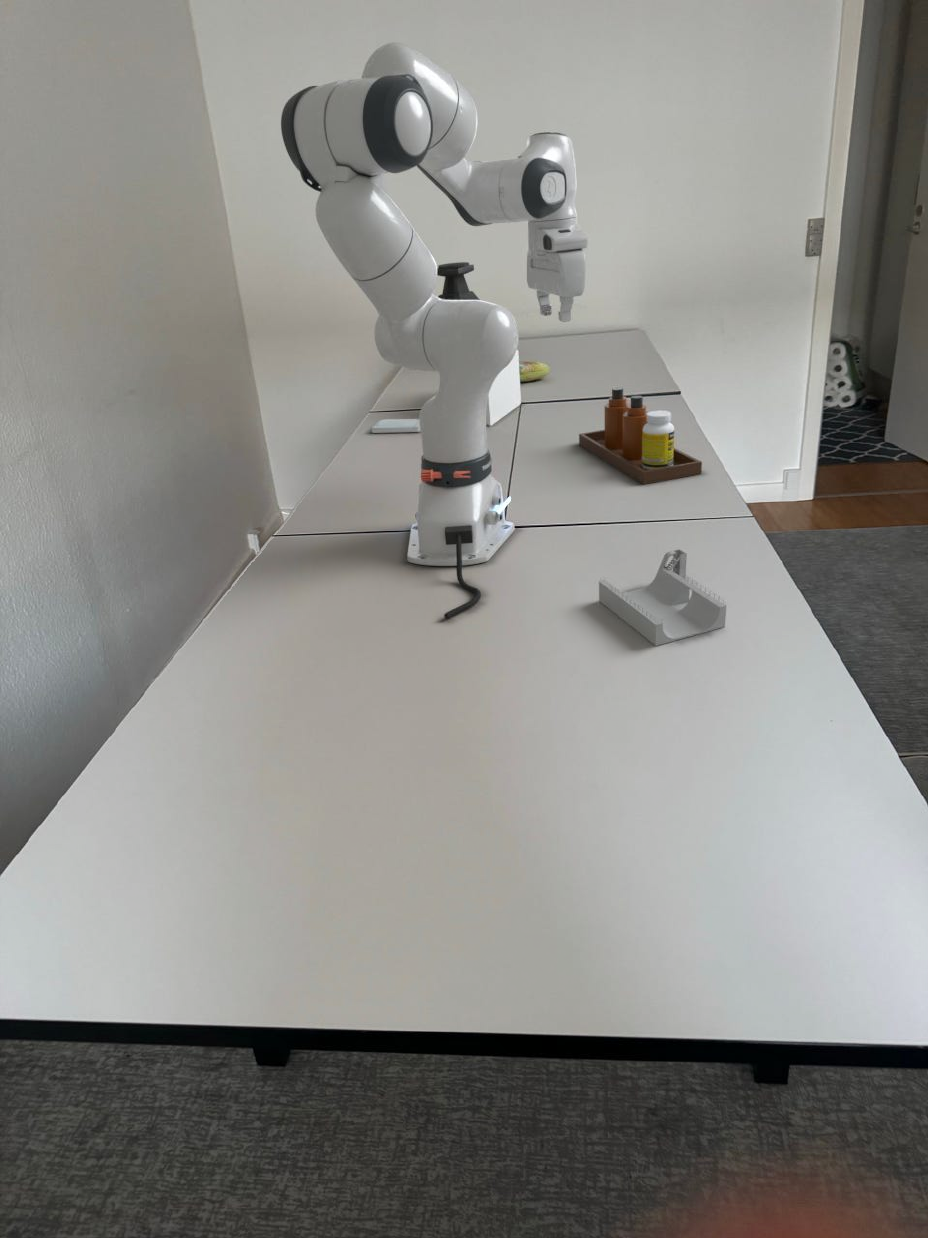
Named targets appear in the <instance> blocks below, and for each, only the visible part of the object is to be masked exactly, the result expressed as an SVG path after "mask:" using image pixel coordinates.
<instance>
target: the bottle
mask: <svg viewBox="0 0 928 1238" xmlns="http://www.w3.org/2000/svg"><path fill="white" fill-rule="evenodd" d="M474 271H475V264H470V262H468V261H461V262H449V263H442V264H438V265H437V277H438V276H439V277H444V282H443V287H442V293H441V294H439V295H438V296H437V297H438V298H440V299H445V300H481V299H480V298H479V297H478V295H477V294H476V292H474V291H473V290H470V289H469V286H468V283H467V280H466V277H465V275H466V274H469V273H471V272H474Z"/></svg>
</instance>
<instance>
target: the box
mask: <svg viewBox="0 0 928 1238" xmlns="http://www.w3.org/2000/svg"><path fill="white" fill-rule="evenodd" d="M519 362H520V356H519V349H517V350H516V353H515V355H514V357H513V359H512V360H511V362H510V363H509V364H508V366H506V367H505V368H504V369H503V370H502V371H501V372H500V373H499V374H498V376H497V377H496V378H495V380H494V382H493V384H492V386H491V389H490V392H489V395H488V399H487V405H486V426H490V427H492V426H493V425H494V424H495V423H497V422H498V421H500V420H501V419H502V418H504V417H505V416H506V415H508V414H509V413H511V412H512V411H514V410H515V409H516V408H517V407H519V406H520V405H521V404H522V397H521V396H522V395H521V394H522V393H521V392H522V391H521V382H520V374H519Z"/></svg>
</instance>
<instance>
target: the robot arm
mask: <svg viewBox="0 0 928 1238" xmlns="http://www.w3.org/2000/svg"><path fill="white" fill-rule="evenodd" d="M280 117H281V118H280V130H281V136H282V142H283V144H284V147H285V151H286V152H287V154H288V157H289V159H290V161H291V162H292V164H293V165H294V167H295V168H296V170H297V171H299V173H300V177H301V179H302V181H303V183H305V184H306V185H307V186H308V187H310V188H311V189H313V190H315V191H317V192H319V195H318V197H317V200H316V204H315V219H316V222H317V224H318V227H319V229H320V231H321V233H322V234H323V237H324V239H325V240H326V242H327V244H328V245H329V247H330V249H331V250H332V253H333V254H334V256H335V257H336V258H337V260H338V261H339V262H340V264H341V265H342V267H343V268H344V269H345V271H346V272H347V273H348V274H349V276H350V277H351V279H353V281H354V282H355V283H356V284H357V286H358V287H359V288H360V290H361V291H362V293H364V295H365V296H366V298H367V299H368V300H369V301H370V303H371V304H372V305H373V307H374V308H375V310H376V312H377V315H378V316H377V318H376V322H375V325H374V343H375V346H376V349H377V352H378V353H379V355H380V356H381V358H382V359H383V360H384V361H385V362H387V363H389V364H392V365H394V366H397V367H400V368H404V369H407V370H410V371H424V372H438V373H439V386H438V391H437V394H434V396H432V397H431V398H429V399H428V400H427V401H425V403H424V404H423V405H422V407H421V409H420V411H419V416H418V419H419V421H420V430H421V431H420V439H421V447H422V455H421V462H420V481H421V482H420V484H419V485H418V493H419V494H418V504H417V512H415V514H414V515H415V519H416V521H417V522H415V523H413V524H412V525H411V526H410V531H409V538H408V539H409V540H408V546H407V553H406V561H407V562H409V563H411V564H415V565H422V566H430V567H431V566H432V567H456V578H457V582H458V583H459V585H460V586H461V587H462V588H463V589H464V590H466V591H468V592H470V593H473V594H474V597H473V598H471V599H470V600H468V601H467V602H465V603H463V604H460V605H459V606H457V607H455V608H453V609H451V610H449V611H446V613H444V615H443V616H444V618H445V619H446V620H448V619H450V618H452V617H453V616H455V615H457V614H459V613H462V612H464V611H466V610H467V609H469V608H472V607H473V606H475V605H476V604H477V603H478V602H479V601H480V599H481V597H482V593H481V590H480V589H478V588H476V587H474V586H471V585H469V584H468V583H466V582H465V580H464V577H463V566H470V565H478V564H482V563H486V562H488V561H489V560H491V558H492V557H493V556H494V555H495V554H496V553H497V551H498V550H499V549H500V548H501V547H502V545H504V543H505V542H506V541H507V540H508V539H509V538H510V537H511V535H512V534H513V533H514V531H515V530H516V528H515V523H514V522H512V521H509V520H506V516H505V508H506V507H507V506H508V504H509V503H510V502H511V500H512V498H511V496H509V497H507V499H506V500H505V501H504V498H503V496H504V495H503V488H502V484H501V483H500V482H499V481H498V480H496V478H495V477H494V476H493V475H492V457H491V452H490V449H489V448H488V439H487V437H488V436H487V435H488V434H487V425H486V405H487V399H488V395H489V392H490V389H491V386H492V384H493V382H494V380H495V378H496V377H497V376H498V374H499V373H500V372H501V371H502V370H503V369H504V368H505V367H506V366H508V364H509V363H510V362H511V360H512V359H513V357H514V355H515V353H516V350H518V346H519V327H518V325H517V321H516V320H515V316H514V315H513V313H512V312H511V311H510V310H509V308H507V307H506V306H503V305H501V304H496V303H494V302H490V301H489V302H488V301H485V300H481V299H480V300H445V299H440V298H438V296H437V295H435V294H433V293H434V292H435V289H436V286H437V282H438V275H437V268H438V265H437V262H436V260H435V258H434V256H433V255H432V253H431V252H430V250H429V249H428V247H427V246H426V244H425V243H424V242H423V240H422V239H421V237H420V236H419V234H418V232H417V231H416V230H415V229H414V227H413V225H412V224H411V222H410V221H409V220H408V218H407V217H406V215H405V213H403V211H402V210H401V209H400V208H399V207H398V205H397V204H396V203H395V202H394V200H393V199H392V198H391V195H390V194H389V191H388V189H387V185H386V181H385V178H384V177H385V176H384V174H389V173H391V174H400V173H403V172H407V171H409V170H411V169H413V168H415V167H417V168H418V170H419V171H421V173H422V174H423V175H424V176H426V178H427V179H428V180H430V181H431V183H433V184H434V185H435V187H437V188H438V189H439V190H440V191H441V192H442V193H443V194H444V195H445V196H446V197H447V198H448V199H449V200H450V202H451V203H452V205H453V206H454V208H455V210H456V211H457V214H459V216H460V217H461V219H462V220H463V221H464V223H466V224H468V225H469V226H472V227H483V226H489V225H492V224H507V223H508V224H509V223H519V222H526V225H527V226H526V227H527V252H526V253H527V254H526V282H527V283H526V284H527V286H528V288H529V289H531V290H535V291H536V298H537V301H538V304H539V313H540V315H541V316H544V317H548V316H551V315H552V311H553V310H552V304H551V303H550V294H551V295H555V296H558V297H559V303H560V306H559V310H558V321H560V322H562V323H567V322H568V323H569V322H570V321H571V319H572V318H571V317H572V315H571V314H572V313H571V311H572V309H573V304H574V297H581V296H583V294H584V292H585V288H586V273H587V272H586V271H587V270H586V269H587V267H586V266H587V265H586V264H587V263H586V262H587V261H586V260H587V259H586V253H585V251H584V249H586V248H588V236H587V234H586V233H585V232H584V231H583V230H582V229H581V227H580V225H579V224H578V214H577V210H576V205H575V204H576V203H575V201H576V200H575V198H576V194H577V171H576V158H575V151H574V146H573V142H572V139H571V138H570V137H569V136H567V135H566V134H565V133H561V132H550V131H546V132H545V131H544V132H538V133H533V134H532V135H530V136H529V137H528V138H527V141H526V148H525V149H524V150H523V152H522V153H520V154H519V155H517V156H516V157H512V158H506V159H497V160H496V159H495V160H487V161H486V160H485V161H481V160H477V161H476V160H475V161H469V160H467V159H466V158H465V157H466V156H467V155H468V153H469V151H470V150H471V148H472V146H473V144H474V141H475V138H476V135H477V131H478V112H477V106H476V104H475V101H474V99H473V98H472V96H471V94H470V93H469V91H468V90H467V89H466V88H465V87H464V86H463V85H462V83H460V82H459V81H458V79H456V78H455V77H454V76H452V75H451V74H450V73H449V72H448V71H447V70H446V69H444V68H443V66H441V65H440V64H438V63H437V62H435V61H434V60H433V59H432V58H430V57H428V56H427V55H425V54H424V53H421V52H420V51H418V50H417V49H415V48H412V47H411V46H408V45H407V44H404V43H401V42H388V43H386V44H385V43H384V44H383V45H381V46H379V47H378V48H376V50H374V51H373V53H372V54H371V55H370V56H369V58H368V59H367V61H366V63H365V64H364V67H363V70H362V73H361V78H355V79H353V78H345V79H344V78H343V79H340V80H339V79H338V80H334V81H330V82H327V83H324V84H322V85H310V86H308V87H305V88H303V89H301V90H299V91H298V92H297V93H295V94H293V95H292V96H291V97H290V98H289V99H288V100H287V101H286V103H285V104H284V107H283V108H282V112H281V116H280Z"/></svg>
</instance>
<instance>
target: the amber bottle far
mask: <svg viewBox="0 0 928 1238" xmlns="http://www.w3.org/2000/svg"><path fill="white" fill-rule="evenodd" d="M627 400H628V399H627V397H626V396H624V387H622V386H621V387H619V386H618V387H613V388H611V396H610V397H608V402H607V403H606V404H604V406H603V407H604V430H605V447H606V448H609V449H623V414H624V413H625V412H627V407H628V406H630V405H631V402H628V401H627Z"/></svg>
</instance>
